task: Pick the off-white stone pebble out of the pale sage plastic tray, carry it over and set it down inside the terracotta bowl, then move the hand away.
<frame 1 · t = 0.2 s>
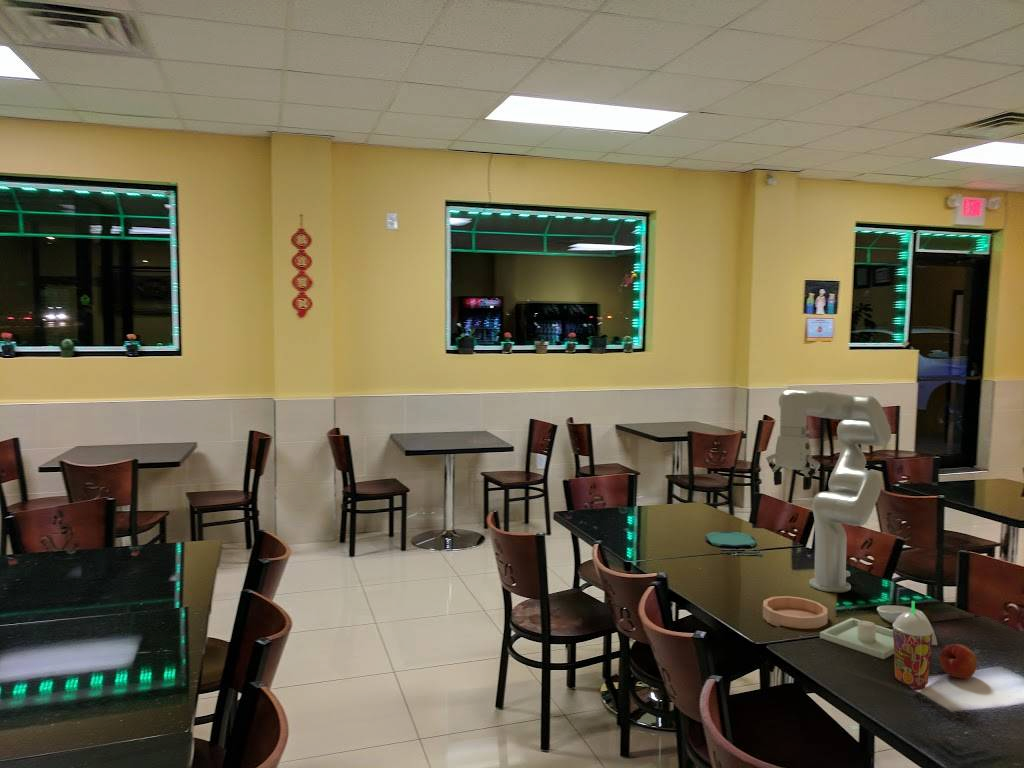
hand: (792, 487, 221), 37 cm above the table, tool pointing down, fingers open, 9 cm apart
smoothie: (911, 685, 169), on the table
fruit: (957, 677, 172), on the table
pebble: (866, 639, 192), point 1 cm above the table, touching tray
tray: (866, 643, 192), on the table
spoon rest: (909, 632, 200), on the table
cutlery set: (732, 547, 288), on the table
bowl: (794, 620, 209), on the table
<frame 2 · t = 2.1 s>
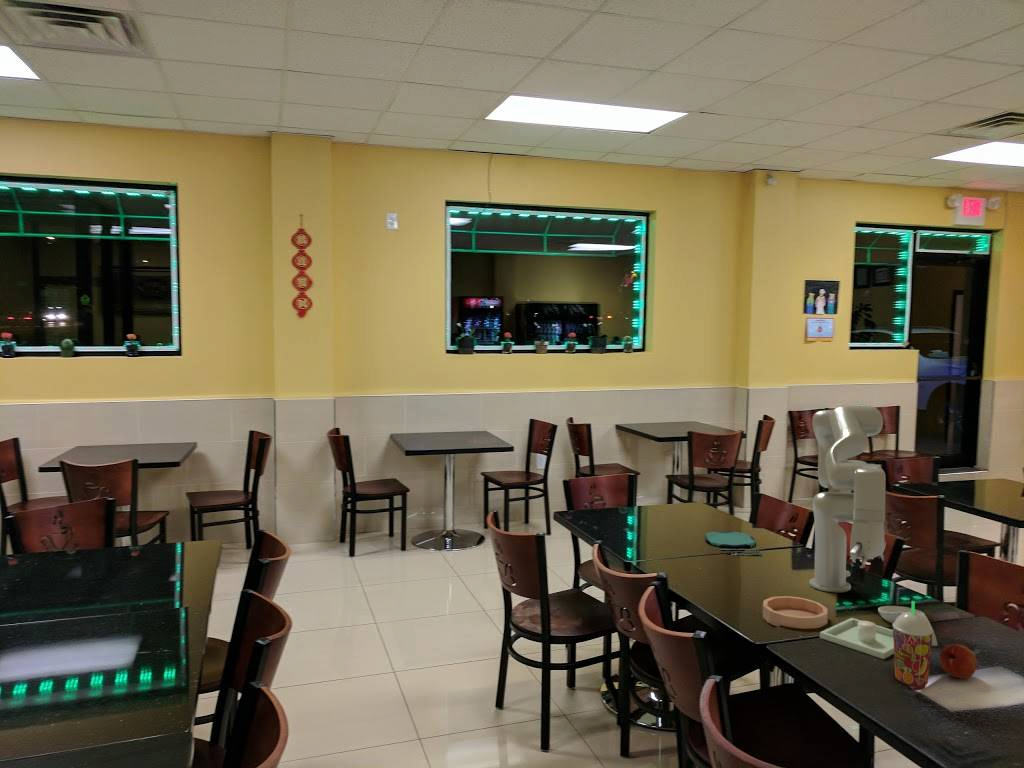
hand: (867, 578, 191), 18 cm above the table, tool pointing down, fingers open, 9 cm apart
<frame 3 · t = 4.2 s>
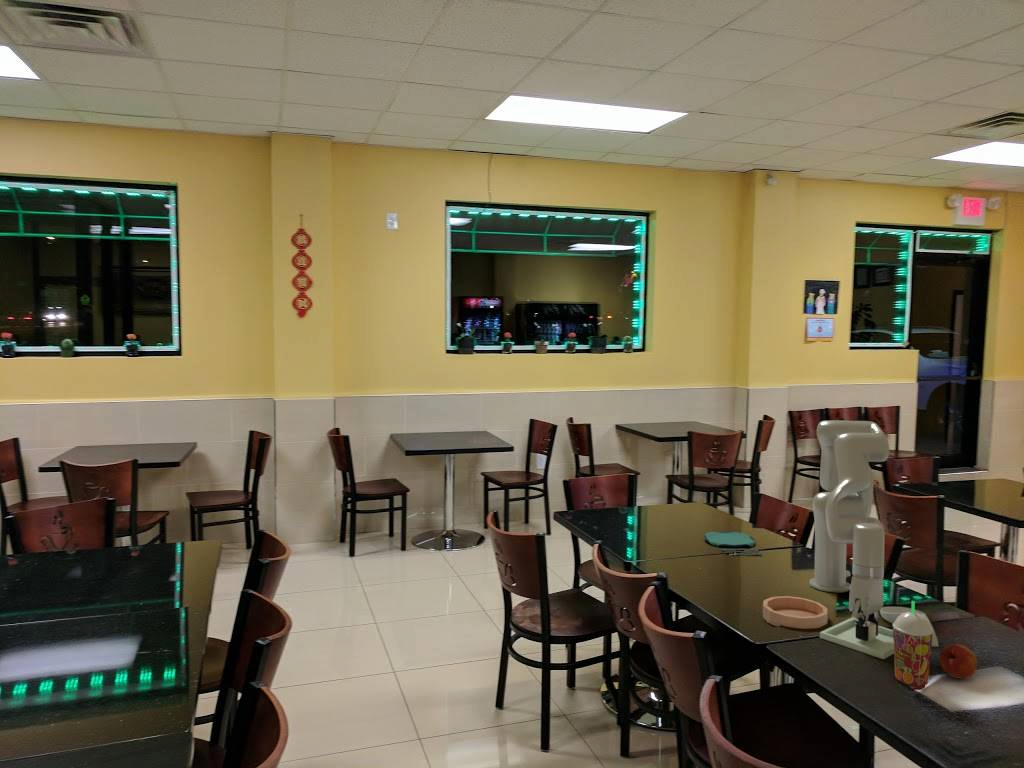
hand: (866, 636, 192), 2 cm above the table, tool pointing down, fingers closed on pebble, 4 cm apart
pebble: (866, 639, 192), point 1 cm above the table, touching gripper, tray
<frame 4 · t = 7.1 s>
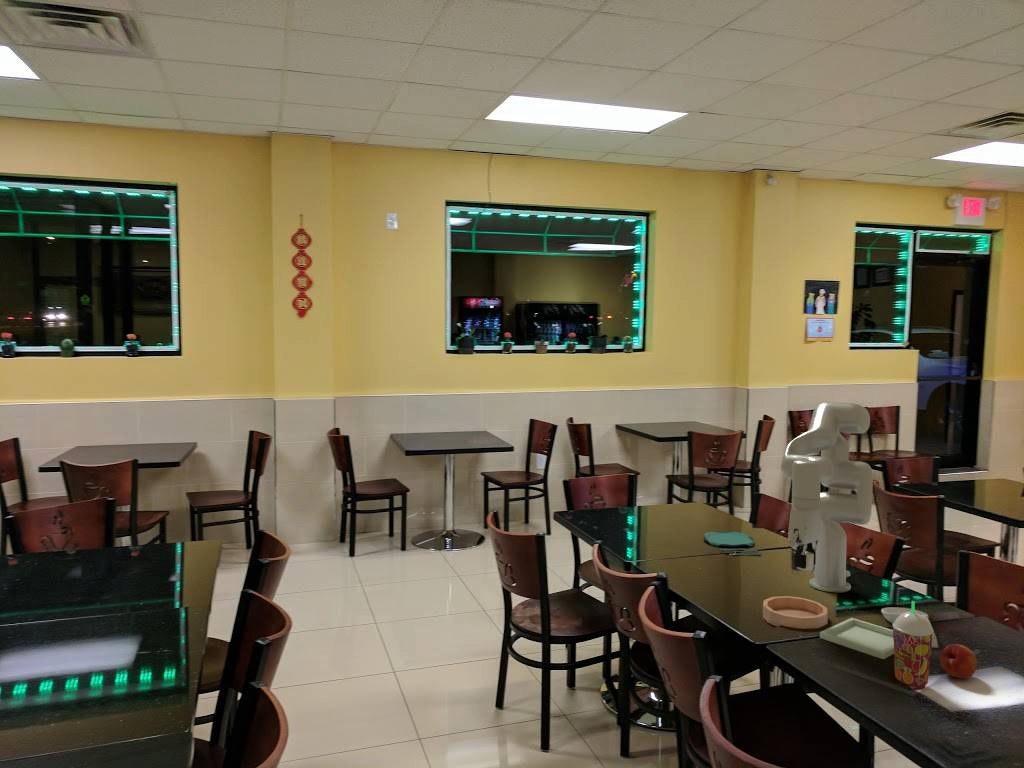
hand: (805, 565, 206), 17 cm above the table, tool pointing down, fingers closed on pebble, 4 cm apart
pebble: (805, 568, 206), point 16 cm above the table, touching gripper
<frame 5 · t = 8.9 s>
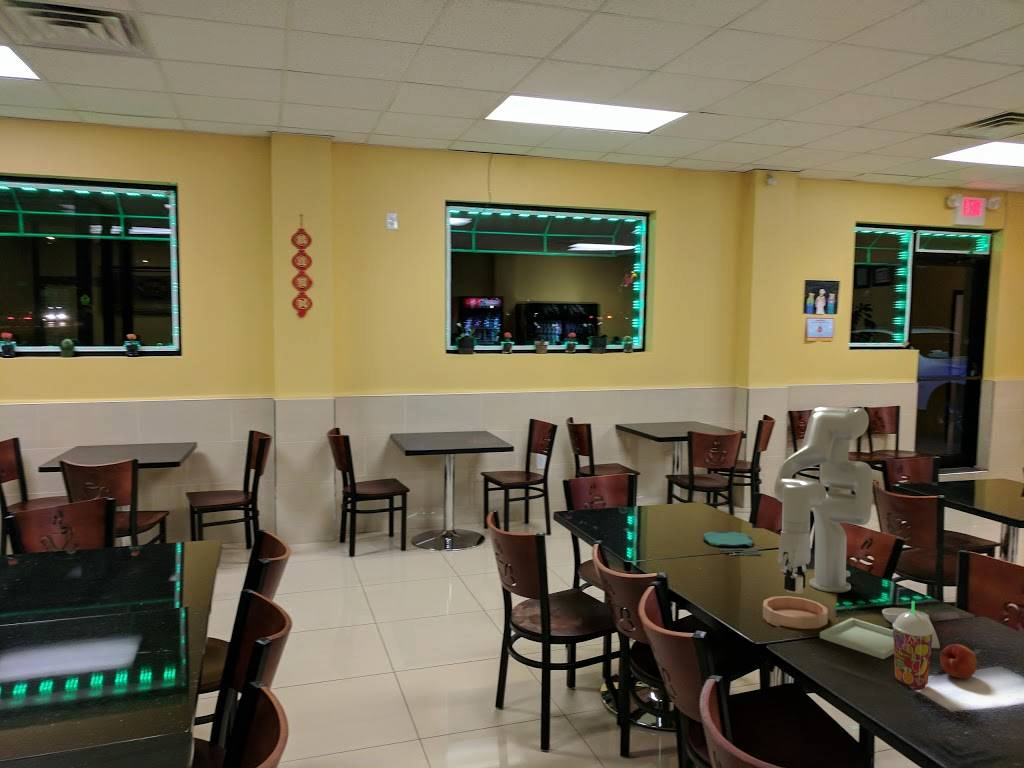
hand: (794, 588, 208), 10 cm above the table, tool pointing down, fingers closed on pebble, 4 cm apart
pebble: (794, 591, 208), point 9 cm above the table, touching gripper
when the fingers open (4 cm above the table, at t = 10.2 s): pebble drops 2 cm, resting on bowl.
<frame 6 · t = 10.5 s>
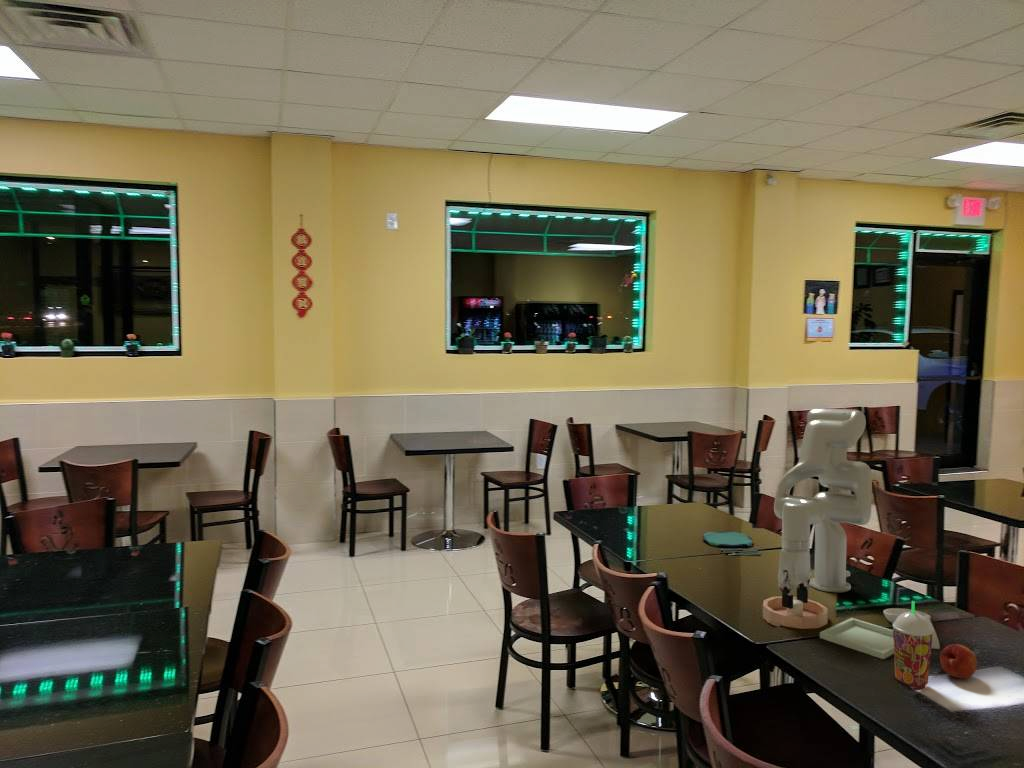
hand: (794, 604, 208), 5 cm above the table, tool pointing down, fingers open, 7 cm apart
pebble: (794, 616, 209), point 1 cm above the table, touching bowl
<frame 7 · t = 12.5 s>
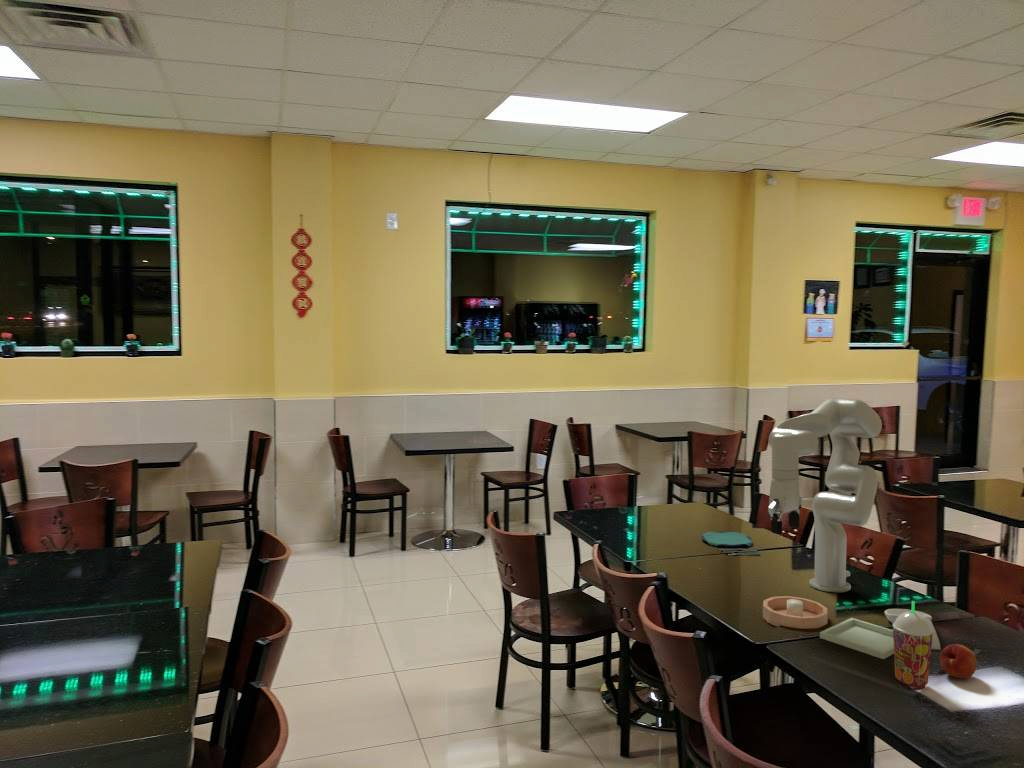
hand: (785, 530, 216), 24 cm above the table, tool pointing down, fingers open, 9 cm apart
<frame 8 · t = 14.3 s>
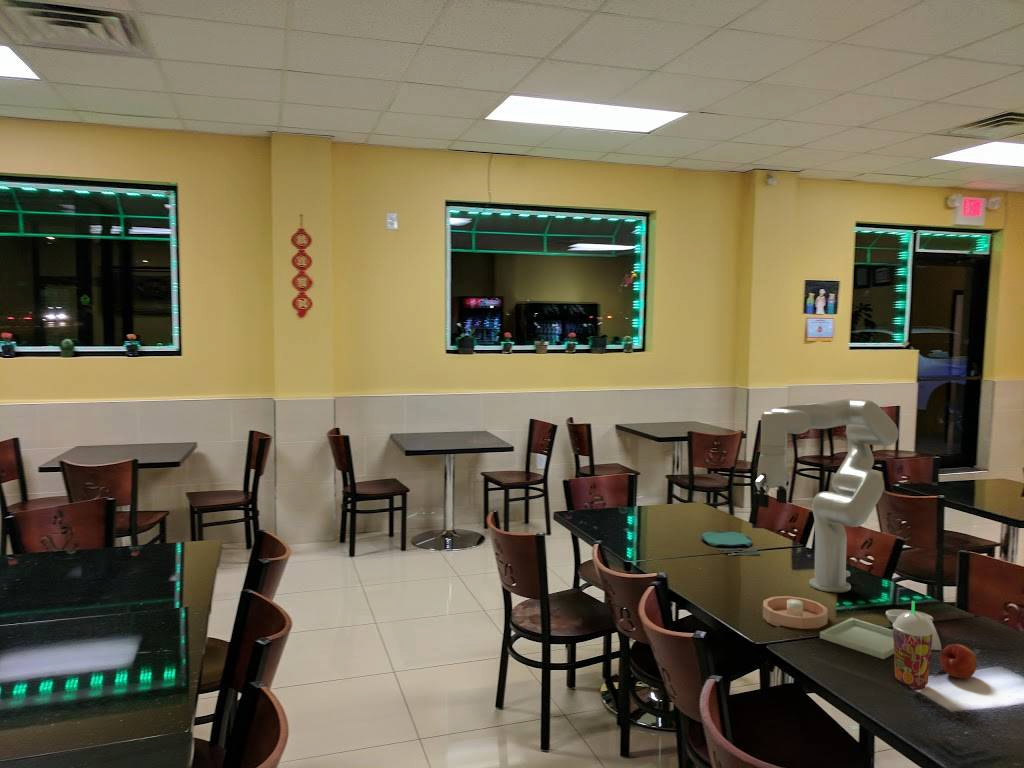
hand: (772, 504, 224), 30 cm above the table, tool pointing down, fingers open, 9 cm apart
at the end: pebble inside the target area on the bowl (0.0 cm from its centre), point 1.0 cm above the bowl's base; the gripper is holding nothing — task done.
